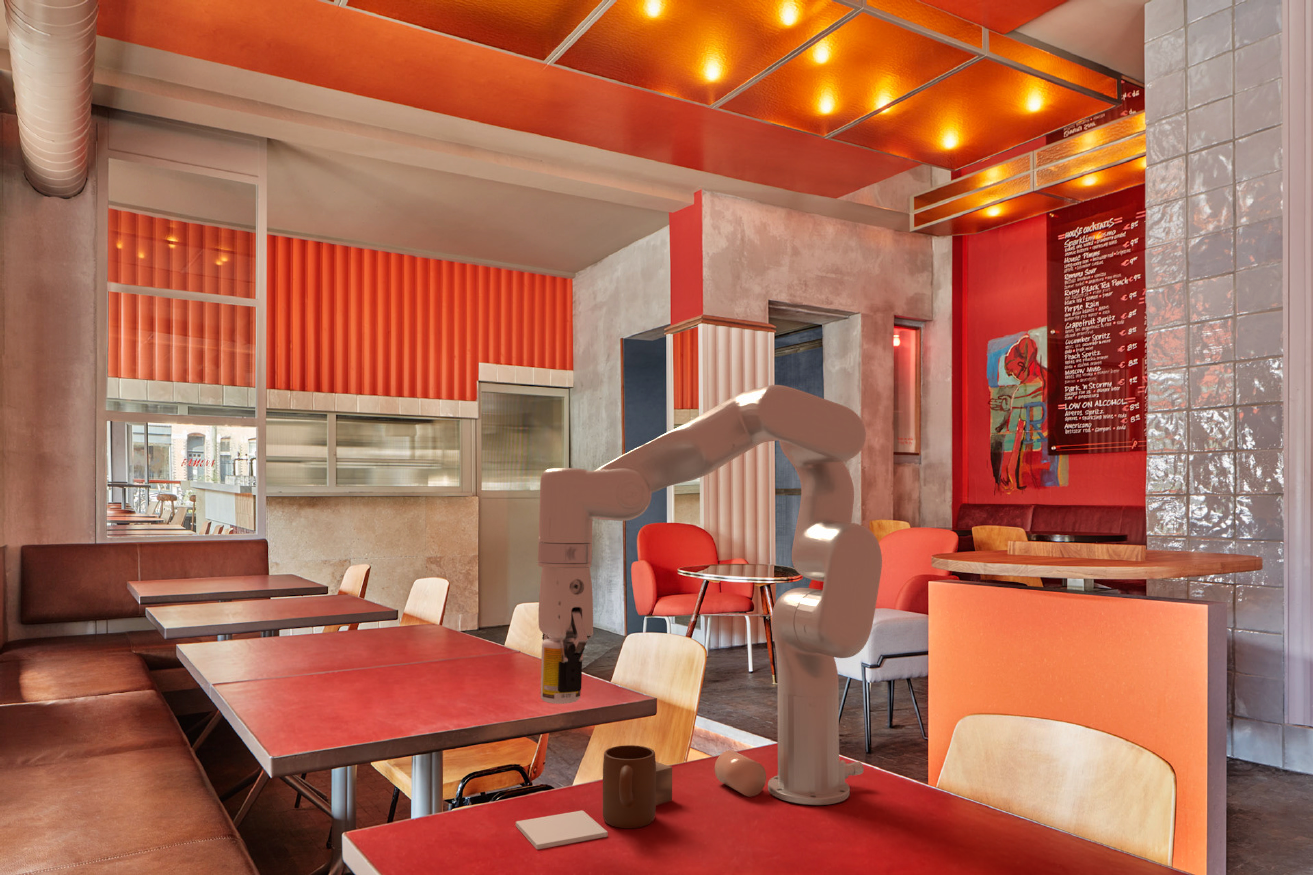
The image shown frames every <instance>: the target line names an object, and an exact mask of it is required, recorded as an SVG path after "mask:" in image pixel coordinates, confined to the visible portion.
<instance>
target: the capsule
mask: <svg viewBox="0 0 1313 875" xmlns="http://www.w3.org/2000/svg"><path fill="white" fill-rule="evenodd" d="M714 764H715V765H714V774H715V776H716V778H717V780H718V781H719V782H720V783H722V784H724V785H725V786H728V787H730V788H731V789H733V790H734V791H737V792H738V793H740V794H742V795H744V796H746V797H749V798H750V797H755V796H757V795H759V794H760V793H761V792H762V790H764V788H765V787H766V786H765V785H766V782H767V773H766V769H765V767H764V766H763V765H762V764H761V763H759V762H757V761H755V760H754V759H751V758H750V757H747V756H745V755H743V754H741V753H739V752H737V751H735V750H725V751H723V752H722V753H720V755H719V756H718V758H717V759H716V760H715V763H714Z"/></svg>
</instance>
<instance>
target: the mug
mask: <svg viewBox="0 0 1313 875" xmlns="http://www.w3.org/2000/svg"><path fill="white" fill-rule="evenodd" d="M656 762H657V761H656V753H655V751H654V749H653V748H650V747H647V746H642V745H633V744H630V745H629V744H627V745H625V744H624V745H617V746H613V747H609V748H607V749H605V751H604V753H603V761H602V818H603V820H604V821H605V823H606V824H607V825H609V826H611V827H614V828H615V827H616V828H618V829H637V828H643V827H646V826H648V825H651V823H653V822H654V820H655V818H656V806H657V805H656Z"/></svg>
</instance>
